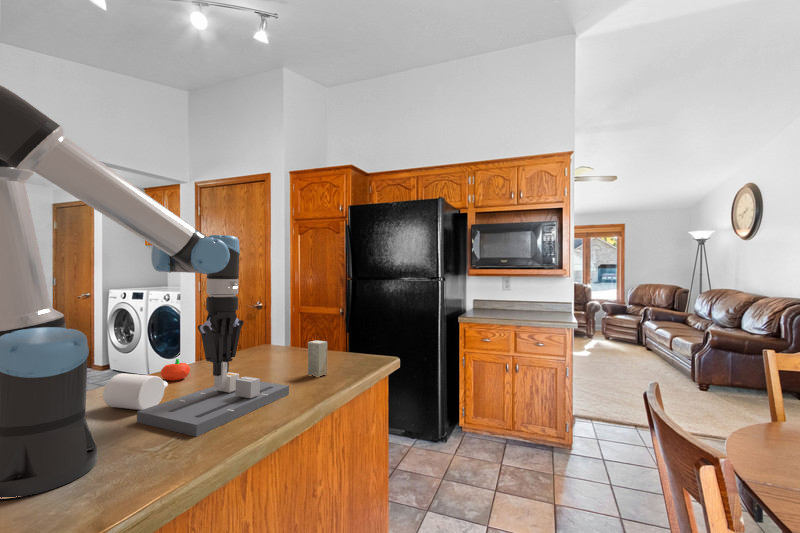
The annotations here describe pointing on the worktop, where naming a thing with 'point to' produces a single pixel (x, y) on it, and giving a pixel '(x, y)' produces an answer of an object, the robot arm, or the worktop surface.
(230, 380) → the fader
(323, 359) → the box
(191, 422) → the console
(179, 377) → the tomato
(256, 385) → the fader
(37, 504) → the worktop surface
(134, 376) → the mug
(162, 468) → the worktop surface
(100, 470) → the worktop surface
